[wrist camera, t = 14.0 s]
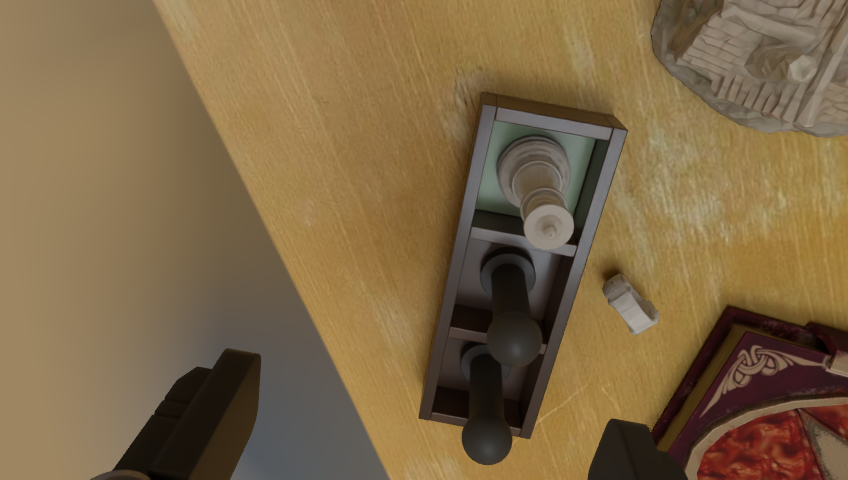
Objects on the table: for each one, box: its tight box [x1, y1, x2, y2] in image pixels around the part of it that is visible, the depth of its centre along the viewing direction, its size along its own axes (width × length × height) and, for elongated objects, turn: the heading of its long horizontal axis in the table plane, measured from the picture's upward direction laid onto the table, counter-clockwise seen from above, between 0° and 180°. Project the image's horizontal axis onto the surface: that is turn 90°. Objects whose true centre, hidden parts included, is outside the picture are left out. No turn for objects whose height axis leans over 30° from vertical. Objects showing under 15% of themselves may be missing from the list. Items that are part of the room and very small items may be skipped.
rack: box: [419, 92, 628, 439], centre depth 38 cm, size 8×22×4 cm, turn 171°
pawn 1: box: [480, 247, 542, 367], centre depth 34 cm, size 4×4×10 cm
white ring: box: [602, 274, 660, 335], centre depth 37 cm, size 4×2×4 cm, turn 42°
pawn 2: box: [460, 341, 512, 465], centre depth 38 cm, size 4×4×10 cm
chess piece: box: [496, 135, 574, 250], centre depth 31 cm, size 4×4×10 cm
